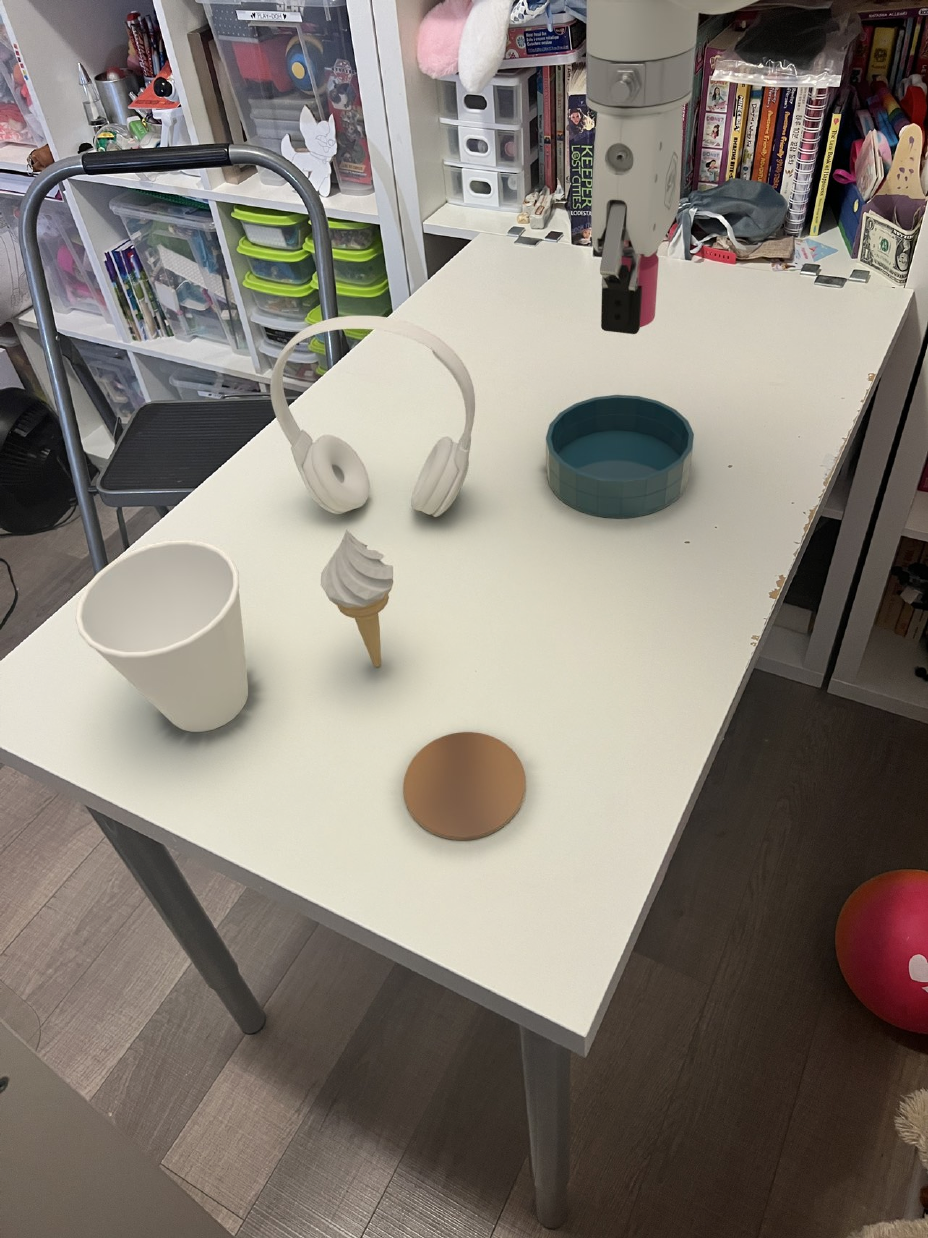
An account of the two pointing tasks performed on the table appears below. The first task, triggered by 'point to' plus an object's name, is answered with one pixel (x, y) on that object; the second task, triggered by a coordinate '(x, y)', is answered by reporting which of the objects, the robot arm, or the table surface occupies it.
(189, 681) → the cup
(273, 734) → the table surface
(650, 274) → the pink cylinder block
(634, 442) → the bowl
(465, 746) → the coaster
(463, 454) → the headphones
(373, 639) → the ice cream cone
